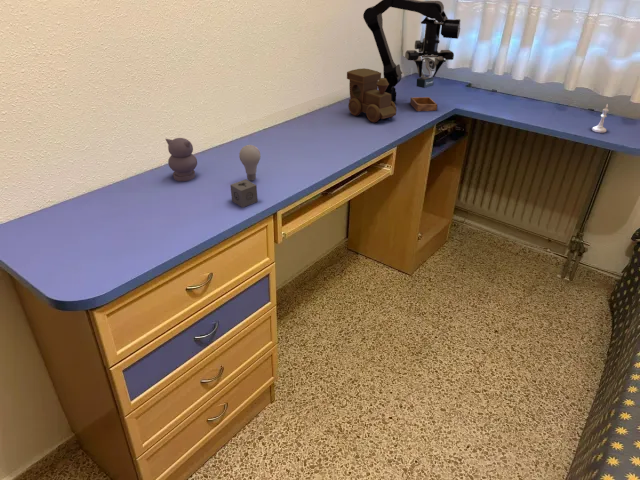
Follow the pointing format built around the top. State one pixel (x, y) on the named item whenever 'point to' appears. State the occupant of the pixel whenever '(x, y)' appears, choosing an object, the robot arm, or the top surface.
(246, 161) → the lightbulb
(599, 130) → the chess piece
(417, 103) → the tray
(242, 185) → the dark grey engraved cube
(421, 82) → the watch
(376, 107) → the wooden toy train
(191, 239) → the top surface
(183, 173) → the cat figurine
